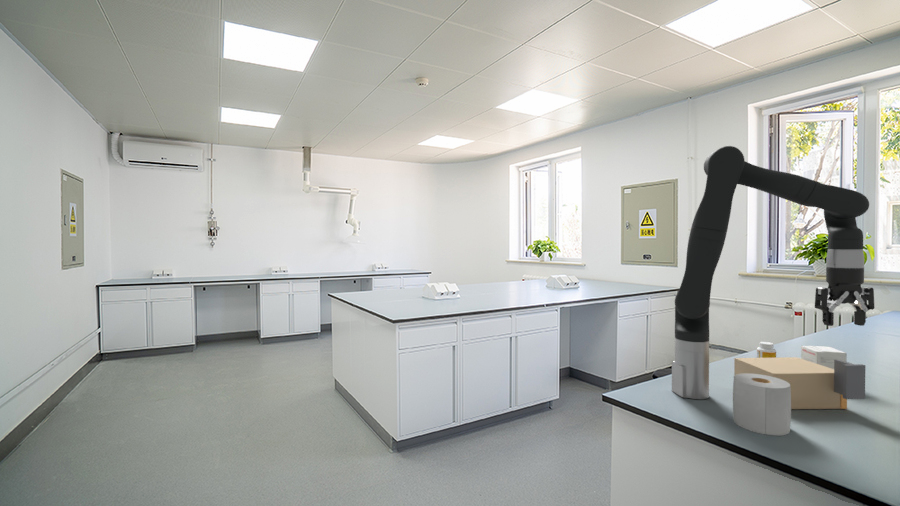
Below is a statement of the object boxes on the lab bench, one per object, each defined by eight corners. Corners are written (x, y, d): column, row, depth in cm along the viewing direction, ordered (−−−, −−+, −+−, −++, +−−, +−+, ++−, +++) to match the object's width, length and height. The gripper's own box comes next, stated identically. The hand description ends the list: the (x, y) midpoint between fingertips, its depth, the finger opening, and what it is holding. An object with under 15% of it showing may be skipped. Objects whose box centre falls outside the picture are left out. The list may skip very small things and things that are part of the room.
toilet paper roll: (745, 412, 116) (745, 370, 115) (799, 428, 106) (799, 382, 105) (723, 422, 109) (724, 378, 109) (779, 440, 99) (779, 392, 99)
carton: (773, 409, 117) (773, 373, 117) (734, 389, 133) (734, 358, 133) (844, 408, 117) (844, 372, 117) (796, 388, 133) (797, 357, 133)
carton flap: (791, 417, 111) (792, 366, 111) (773, 408, 117) (773, 359, 117) (866, 416, 111) (867, 365, 111) (844, 407, 117) (845, 358, 117)
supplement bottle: (780, 372, 149) (780, 344, 149) (767, 374, 148) (767, 345, 148) (765, 368, 155) (765, 340, 155) (752, 369, 154) (753, 341, 153)
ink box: (847, 389, 132) (848, 352, 132) (816, 387, 134) (817, 351, 134) (828, 380, 141) (829, 345, 141) (800, 379, 143) (800, 344, 142)
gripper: (831, 267, 110) (830, 328, 110) (885, 266, 110) (884, 327, 111) (807, 265, 117) (806, 323, 118) (856, 265, 118) (856, 322, 118)
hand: (843, 325), depth 114 cm, fingers open, 8 cm apart
